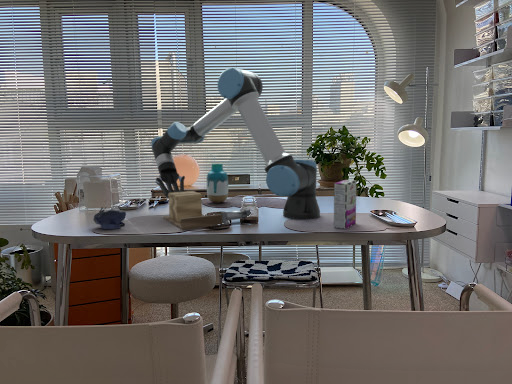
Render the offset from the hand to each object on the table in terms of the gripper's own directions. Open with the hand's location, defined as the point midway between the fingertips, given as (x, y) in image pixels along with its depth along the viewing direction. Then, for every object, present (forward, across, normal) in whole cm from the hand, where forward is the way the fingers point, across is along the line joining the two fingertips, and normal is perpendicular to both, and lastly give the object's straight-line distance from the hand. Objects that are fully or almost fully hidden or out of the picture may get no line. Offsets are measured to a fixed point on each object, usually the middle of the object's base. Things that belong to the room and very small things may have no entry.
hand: (179, 209), depth 164 cm
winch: (+17, -16, +13) cm, 27 cm away
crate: (+6, 0, +3) cm, 7 cm away
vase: (-15, -28, -20) cm, 37 cm away
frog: (+6, +28, +1) cm, 29 cm away
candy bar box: (+35, -48, +30) cm, 66 cm away
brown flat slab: (+11, 0, +7) cm, 13 cm away
